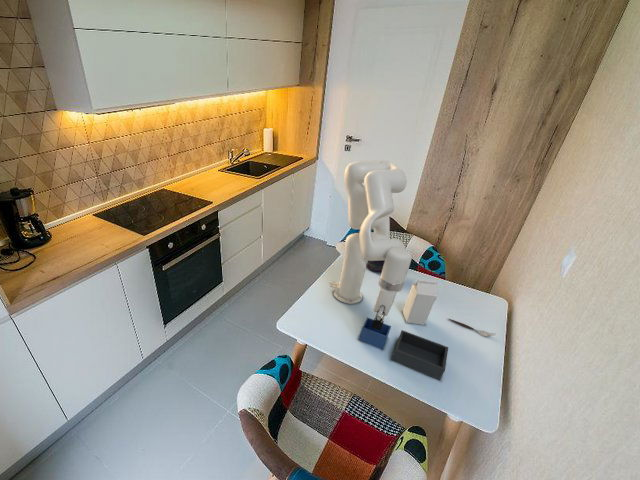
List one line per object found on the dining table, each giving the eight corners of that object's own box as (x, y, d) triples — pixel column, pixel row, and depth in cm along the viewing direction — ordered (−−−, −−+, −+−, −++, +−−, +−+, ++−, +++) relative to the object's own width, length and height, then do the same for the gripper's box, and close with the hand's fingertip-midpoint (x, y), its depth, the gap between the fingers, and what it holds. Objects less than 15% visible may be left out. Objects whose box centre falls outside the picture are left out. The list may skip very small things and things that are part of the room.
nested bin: (358, 340, 123) (362, 327, 120) (363, 329, 128) (367, 317, 125) (382, 349, 119) (387, 337, 116) (387, 338, 124) (391, 326, 120)
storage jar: (383, 275, 161) (391, 249, 153) (364, 269, 166) (370, 244, 158) (387, 266, 169) (395, 241, 161) (368, 261, 173) (375, 236, 165)
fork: (449, 318, 134) (450, 314, 133) (494, 336, 125) (496, 332, 124) (447, 321, 132) (449, 317, 131) (493, 340, 124) (495, 336, 123)
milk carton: (424, 325, 130) (440, 287, 120) (406, 322, 132) (420, 285, 121) (419, 314, 136) (434, 277, 126) (402, 311, 137) (415, 275, 127)
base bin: (391, 360, 115) (395, 349, 112) (397, 340, 123) (401, 329, 120) (439, 380, 108) (445, 370, 105) (443, 357, 116) (448, 347, 113)
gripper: (385, 268, 117) (375, 305, 126) (373, 291, 105) (362, 330, 113) (407, 274, 113) (395, 312, 122) (397, 299, 101) (384, 338, 110)
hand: (379, 321), depth 118 cm, fingers open, 9 cm apart
